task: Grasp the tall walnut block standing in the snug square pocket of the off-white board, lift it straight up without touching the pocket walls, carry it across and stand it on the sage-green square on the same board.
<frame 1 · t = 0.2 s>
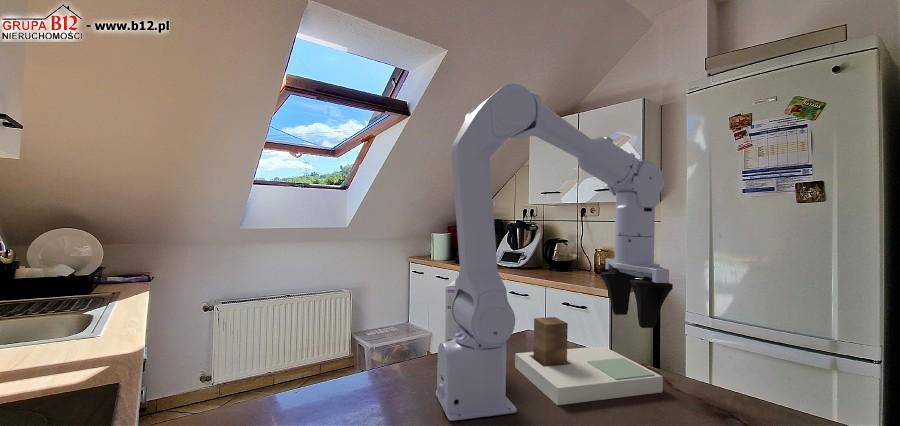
hand: (632, 320, 62), 10 cm above the countertop, tool pointing down, fingers open, 7 cm apart
walnut block: (549, 374, 65), resting in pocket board
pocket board: (583, 378, 63), on the countertop
syrup box: (463, 366, 69), on the countertop
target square: (619, 383, 62), resting on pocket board
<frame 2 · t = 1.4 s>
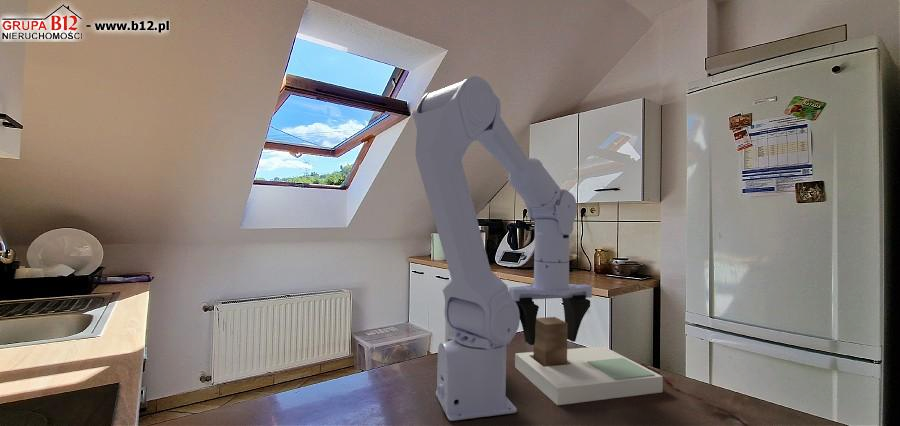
hand: (550, 341, 65), 5 cm above the countertop, tool pointing down, fingers open, 7 cm apart
nothing on the countertop moved.
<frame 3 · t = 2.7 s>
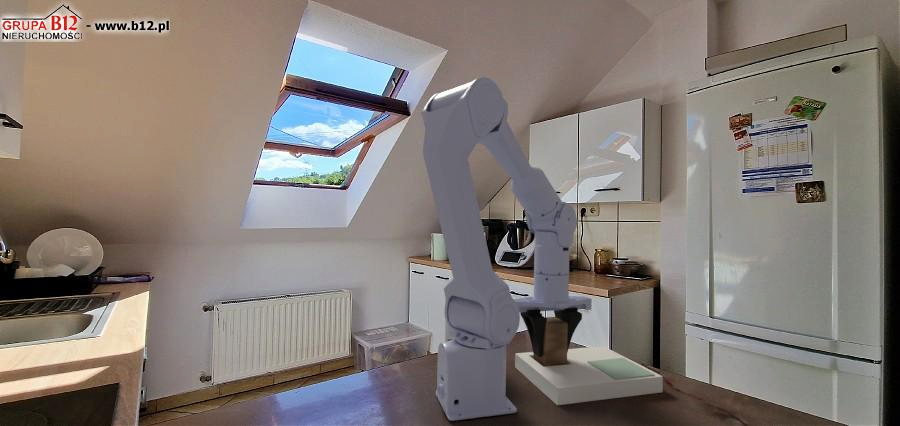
hand: (549, 353, 65), 3 cm above the countertop, tool pointing down, fingers closed on walnut block, 4 cm apart
walnut block: (549, 374, 65), resting in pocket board, touching gripper
everything else where it was.
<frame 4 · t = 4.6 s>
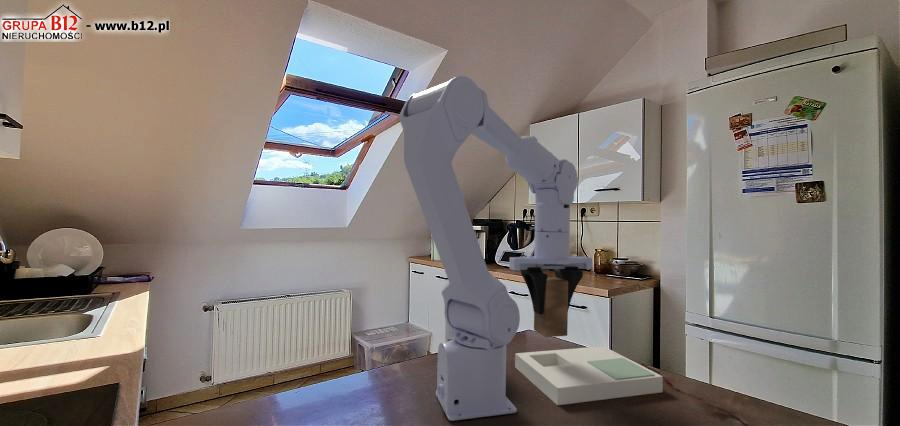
hand: (550, 312, 65), 10 cm above the countertop, tool pointing down, fingers closed on walnut block, 4 cm apart
walnut block: (550, 332, 65), point 7 cm above the countertop, touching gripper
everything else where it was.
when the fingers open (7 cm above the countertop, at t = 6.8 s): walnut block drops 1 cm, resting on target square.
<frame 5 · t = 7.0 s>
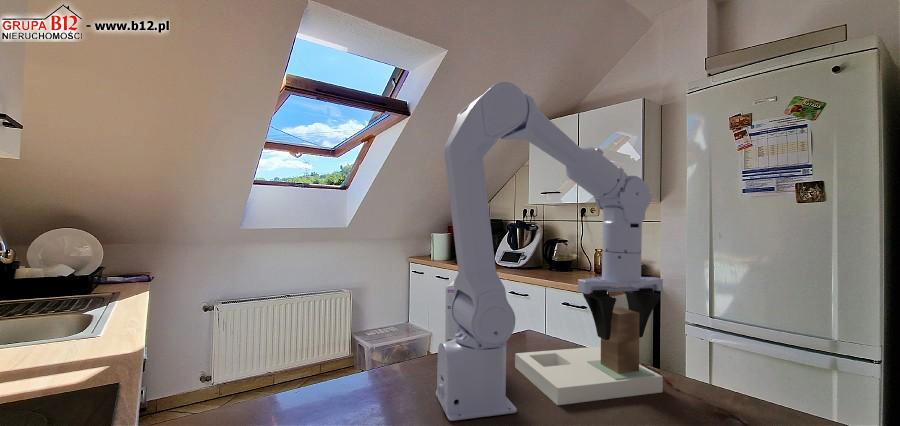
hand: (620, 336, 62), 8 cm above the countertop, tool pointing down, fingers open, 6 cm apart
walnut block: (619, 367, 62), point 3 cm above the countertop, touching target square
everything else where it was.
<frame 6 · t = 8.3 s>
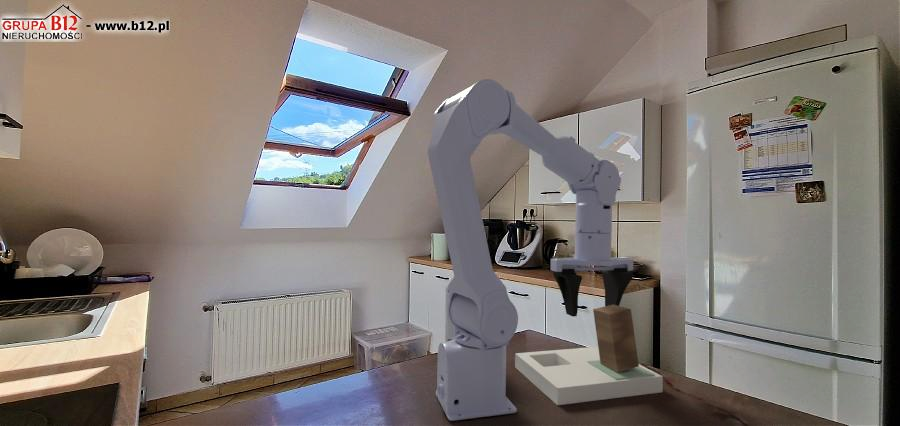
hand: (591, 314, 65), 10 cm above the countertop, tool pointing down, fingers open, 7 cm apart
walnut block: (619, 365, 62), point 3 cm above the countertop, tilted 9°, touching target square
everything else where it was.
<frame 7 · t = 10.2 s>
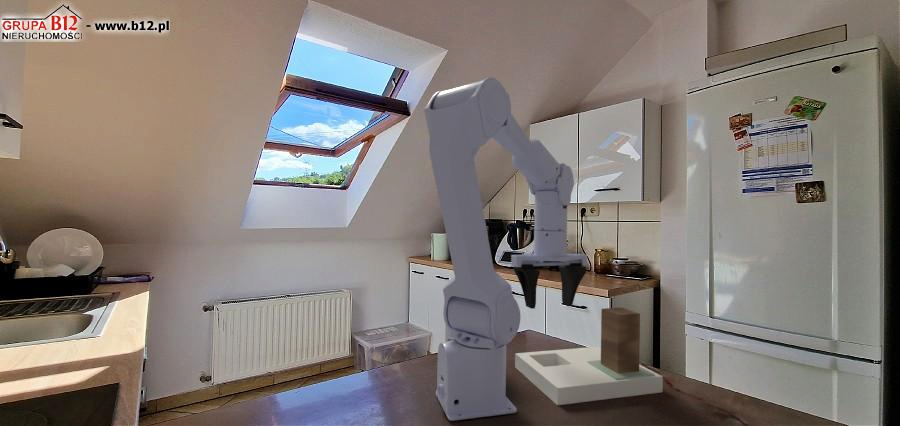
hand: (549, 306, 70), 10 cm above the countertop, tool pointing down, fingers open, 7 cm apart
walnut block: (619, 367, 62), point 3 cm above the countertop, touching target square
everything else where it was.
at the end: walnut block 0.0 cm off-centre on the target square, point 2.6 cm above the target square's base; walnut block tilted 0°; the gripper is holding nothing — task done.
